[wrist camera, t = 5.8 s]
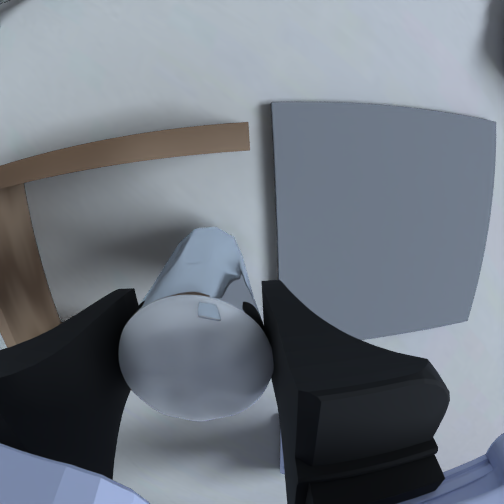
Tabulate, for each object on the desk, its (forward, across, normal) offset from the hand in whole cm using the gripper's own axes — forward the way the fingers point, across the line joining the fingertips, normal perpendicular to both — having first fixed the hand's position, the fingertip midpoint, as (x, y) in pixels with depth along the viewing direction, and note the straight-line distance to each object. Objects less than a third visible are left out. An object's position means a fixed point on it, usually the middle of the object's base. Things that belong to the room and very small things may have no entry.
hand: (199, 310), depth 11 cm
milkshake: (+6, 0, 0) cm, 6 cm away
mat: (+7, -10, 0) cm, 12 cm away
